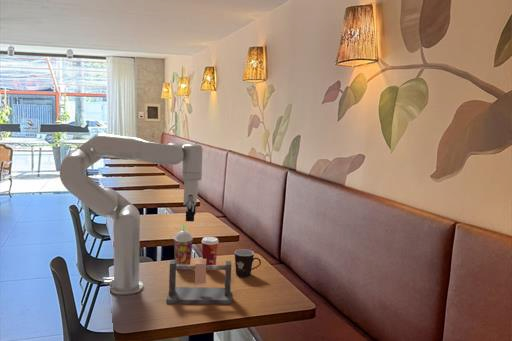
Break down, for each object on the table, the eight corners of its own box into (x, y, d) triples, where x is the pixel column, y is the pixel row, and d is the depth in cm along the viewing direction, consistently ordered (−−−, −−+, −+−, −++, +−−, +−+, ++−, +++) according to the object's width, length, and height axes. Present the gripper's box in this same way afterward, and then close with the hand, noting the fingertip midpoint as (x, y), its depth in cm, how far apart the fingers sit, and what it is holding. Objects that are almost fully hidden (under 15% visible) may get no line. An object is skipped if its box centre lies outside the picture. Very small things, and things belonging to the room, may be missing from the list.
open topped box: (194, 282, 161) (195, 263, 160) (195, 277, 167) (196, 258, 166) (205, 283, 162) (206, 264, 161) (205, 277, 167) (206, 258, 166)
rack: (166, 303, 159) (167, 267, 157) (169, 290, 170) (170, 256, 167) (231, 303, 161) (233, 268, 159) (230, 291, 172) (232, 257, 170)
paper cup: (214, 273, 190) (215, 242, 187) (198, 270, 191) (199, 240, 189) (219, 266, 197) (221, 237, 195) (203, 264, 199) (204, 235, 197)
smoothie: (173, 264, 197) (174, 221, 194) (191, 263, 199) (192, 222, 196) (173, 271, 189) (174, 227, 186) (192, 270, 191) (193, 227, 188)
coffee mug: (229, 273, 190) (230, 251, 189) (244, 269, 196) (245, 248, 194) (246, 282, 182) (247, 259, 180) (261, 277, 187) (262, 255, 186)
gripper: (184, 171, 177) (182, 212, 180) (180, 179, 160) (179, 223, 163) (202, 172, 178) (200, 212, 180) (200, 179, 161) (199, 224, 163)
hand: (190, 217), depth 171 cm, fingers open, 9 cm apart
